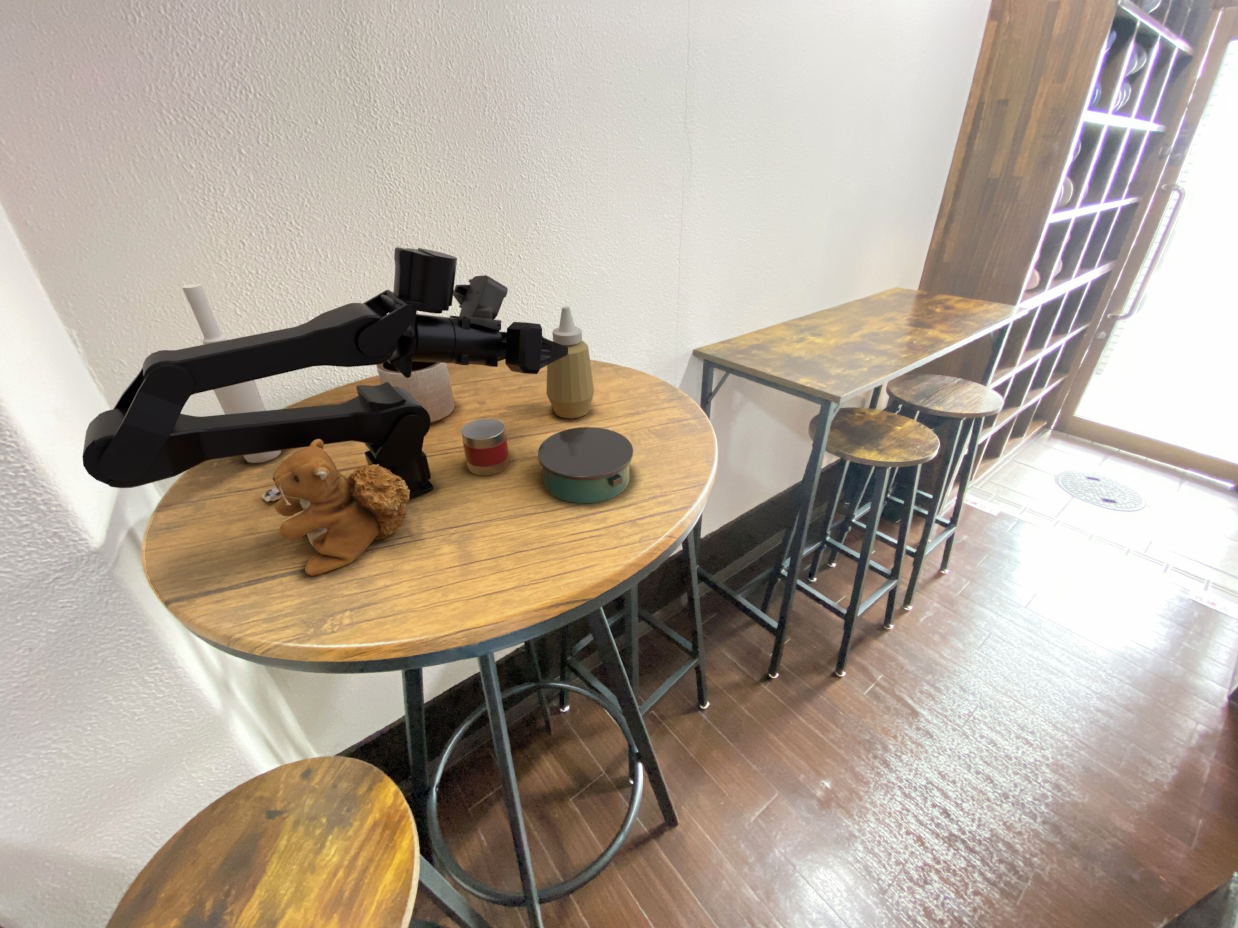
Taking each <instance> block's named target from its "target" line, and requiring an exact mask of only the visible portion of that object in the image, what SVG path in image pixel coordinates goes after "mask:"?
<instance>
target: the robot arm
mask: <svg viewBox="0 0 1238 928" xmlns="http://www.w3.org/2000/svg"><path fill="white" fill-rule="evenodd" d="M393 253H394V255H393V260H394V278H393V279H394V280H393V291H392V290H390V289H385V290H384V291H382V292H380V293H378V294H377V295H374V296H373V297H371V298H370V299H368V300H367V301H364V302H351V303H347V304H344V305H341V306H338V307H336V308H333V309H330V310H327V311H325V312H322V313H320V314H318V315H317V316H315V317H314V318H312V319H310V320H309V321H307V322H304V323H301V324H299V325H296V326H292V327H287V328H281V329H277V330H272V331H267V332H262V333H261V332H260V333H256V334H251V335H247V336H246V335H245V336H241V337H234V338H231V339H228V340H225V341H220V342H215V343H210V344H205V345H203V344H200V345H195V346H190V347H185V348H180V349H163V350H157V351H154V352H151V353H150V354H149V355H148V356H147V357H146V358H144V361H143V363H142V367H141V369H140V370H139V372H138V373H137V375H136V376H135V377H134V378H133V380H132V381H131V382H130V384H129V385H128V386H127V387H126V389H125V390H124V391H123V392H122V394H121V395H120V397H119V398H118V400H117V401H116V404H115V405H114V407H113V408H112V409H108V410H105V411H102V412H100V413H99V414H97V415H96V417H94V418H93V419H92V420H91V421H90V422H89V424H88V426H87V428H86V430H85V436H84V443H83V450H82V456H81V457H82V466H83V467H84V469H85V471H86V472H87V474H88V475H89V476H91V477H92V478H93V479H94V480H95V481H98V482H100V483H102V484H105V485H108V486H109V487H110V488H114V489H115V488H117V489H131V488H138V487H141V486H145V485H148V484H149V485H150V484H153V483H156V482H160V481H165V480H167V479H171V478H174V477H176V476H179V475H181V474H182V473H185V472H187V471H189V470H191V469H193V468H195V467H197V466H199V465H201V464H203V463H205V462H209V461H214V460H220V459H227V458H234V457H243V455H251V454H258V453H265V452H273V451H280V450H282V451H286V450H294V449H303V448H305V447H310V444H311V443H312V442H313V441H314V440H316V439H320V440H322V441H323V443H324V446H325V445H331V444H338V443H346V442H358V443H362V444H364V445H365V446H366V447H367V449H368V450H366V451H364V457H365V460H366V464H367V465H368V466H369V465H370V466H371V465H373V464H374V465H377V464H379V466H381V467H383V468H386V469H387V470H390V471H391V472H392V474H395V475H396V476H399V477H401V478H402V480H405V484H406V486H408V489H409V490H410V495H409V497H410V498H409V500H411V499H414V498H415V497H418V496H421V495H423V494H426V493H429V492H432V491H433V490H434V489H435V487H434V484H433V483H432V482H431V481H430V480H431V479H432V474H431V469H430V465H429V462H428V457H427V454H426V453H425V452H424V451H423V446H424V440H425V437H426V436H427V435H428V433H429V431H430V429H431V424H432V423H431V420H430V415H429V414H428V412H427V410H426V409H425V408H424V407H423V406H422V405H421V404H420V403H419V402H418V401H417V400H416V399H415V398H414V397H413V396H412V395H411V394H409V393H408V392H407V391H406V390H404V389H403V388H400V387H394V386H392V385H391V384H390V383H389V382H386V383H383V384H381V383H380V384H377V385H368V384H359V385H358V384H357V385H356V386H355V388H356V392H357V396H355V397H353V398H351V399H350V400H347V401H344V402H341V403H332V404H321V405H311V406H300V407H290V408H280V409H278V408H277V409H268V410H266V411H257V412H246V413H236V414H225V413H224V414H217V415H216V414H215V415H206V416H198V415H197V416H195V415H190V414H185V413H184V414H183V413H182V411H183V409H184V407H185V405H186V403H187V402H188V400H189V398H190V397H191V396H193V395H197V394H201V393H204V392H209V391H214V389H218V388H222V387H227V386H231V385H235V384H240V383H244V382H248V381H252V380H255V381H256V380H260V379H265V378H269V377H274V376H278V375H282V374H286V373H290V372H294V371H301V370H303V369H308V368H312V367H313V368H314V367H323V366H326V367H328V366H329V367H339V368H340V367H342V368H354V367H355V368H356V367H367V366H368V367H369V366H376V365H378V364H382V363H384V362H386V361H388V362H389V363H390V364H391V365H392V366H394V367H396V369H397V370H398V371H399V372H400V373H401V374H402V375H403V376H405V377H406V378H410V377H411V370H412V361H420V362H438V363H446V364H454V365H460V366H469V365H476V366H484V367H485V366H486V367H492V368H498V366H499V362H502V361H504V360H505V361H504V363H505V365H506V367H507V368H508V369H509V370H510V372H515V373H520V374H528V375H538V373H540V370H541V369H543V368H544V367H547V365H548V364H550V363H552V362H554V361H556V360H558V359H560V358H562V357H564V356H567V355H568V347H566V346H564V345H561V344H559V343H556V342H553V340H550V339H548V338H545V337H544V336H543V327H542V325H541V324H540V323H536V322H526V321H524V322H523V321H513V322H511V324H510V325H509V326H508V327H507V328H506V331H502V320H501V319H497V317H498V315H499V312H500V309H501V306H502V304H503V301H504V299H505V298H506V297H507V295H508V291H509V290H508V287H507V286H505V285H504V284H502V283H500V282H499V281H497V280H496V279H493V278H492V277H490V276H489V275H487V274H484V275H475V276H473V278H470V279H468V283H469V284H456V285H455V282H456V273H457V272H456V271H457V265H458V264H457V263H458V257H456V256H455V255H454V256H453V255H451V254H448V253H444V252H440V251H436V250H431V249H428V248H422V247H418V248H411V247H406V248H404V247H399V246H396V247H395V248H394V252H393ZM453 298H454V299H455V300H456V302H457V303H458V304H459V305H458V308H460V311H459V315H449V316H439V315H432V314H443V312H449V309H450V307H452V306H453ZM417 312H422V313H417ZM423 313H428V314H423ZM430 314H431V315H430Z"/></svg>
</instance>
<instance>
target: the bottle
mask: <svg viewBox="0 0 1238 928" xmlns="http://www.w3.org/2000/svg"><path fill="white" fill-rule="evenodd" d="M181 288H182V291H183V294H184V295H185V297H186V300H187V302H188V304H189V305H190V308H191V310H192V313H193V314H194V317H195V319H196V322H197V324H198V326H199V328H200V331H201V333H202V336H203V338H202V340H201V341H202V343H203V344H202V345H205V344H210V343H215V342H220V341H225V340H229V339H228V338H227V336H226V335H224V334H222V331H221V329H220V327H219V324H218V321H217V320H216V317H215V314H214V312H213V310H212V308H211V306H210V303H209V300H208V297H207V294H206V292H205V289H204V287H203V285H202V284H201V283H189V284H185V285H182V286H181ZM213 392H214V395H215V396H216V398H217V400H218V403H219V405H220V407H221V409H222V411H223V413H224V415H225V414H236V413H246V412H257V411H267V410H266V407H265V405H264V402H263V399H262V396H261V394H260V391H259V388H258V386H257V383H256V380H252V381H248V382H244V383H240V384H235V385H231V386H227V387H222V388H218V389H214V390H213ZM282 451H283V450H280V451H273V452H265V453H258V454H251V455H243V456H242V457H243V459H244V460H246V462H247V463H250V464H260V463H265V462H268V461H269V462H270V461H272V460H274V459H276V458H278V457H279V456H280V454H282Z"/></svg>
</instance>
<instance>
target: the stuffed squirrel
mask: <svg viewBox="0 0 1238 928" xmlns="http://www.w3.org/2000/svg"><path fill="white" fill-rule="evenodd" d="M324 447H325V445H324V443H323V441H322V440H320V439H316V440H314V441H313V442H312V443H311V444H310V447H303V448H299V449H298V450H296V451H294V452H293V453H292V454H290V455H289V456H288V457H286V458H285V459H284V460H282V462H280V464H279V465H278V466H277V467H276V468H275V469H274V471H273V473H272V480H273V483H274V485H275V487H277V489H278V490H279V492H280V493H281V496H282V497H280V499H277V500H278V501H276V503H274V509H275V511H276V512H277V513H278V514H279V515H281V516H283V517H290V518H288V519H286V520H284V521H282V523H281V524H280V525H279V528H278V533H279V535H280V537H282V538H283V539H284V540H287V541H294V540H298V539H301V538H302V537H304V536H306V535H307V539H308V542H309V543H310V545H311V546H312V547H313V548H314V550H316V553H314V554H313V555H312V556H311V557H310V558H309V559H308V561H307V563H306V565H305V567H304V571H305V573H306V574H307V575H308V576H311V577H313V576H318V575H322V574H325V573H328V572H330V571H331V572H332V571H333V570H337V569H340V568H342V567H344V566H347V565H349V564H351V563H352V562H354V561H355V560H357V559H358V558H359V557H360V555H361V556H362V554H363V553H364V552H365V550H367V548H368V547H369V546H370V545H371V544H372V542H373V541H374V540H375V541H378V540H382V539H385V538H387V537H389V536H391V535H393V534H395V533H397V532H398V531H399V530H400V528H401V527H402V526H403V525H404V524H405V518H406V514H408V513H407V512H408V511H406V505H407V504H408V503H407V502H409V501H410V499H409V498H410V497H409V495H410V490H409V489H408V486H406V484H405V480H402V478H401V477H399V476H396V475H395V474H392V472H391V471H390V470H387V469H386V468H383V467H381V466H379V464H377V465H374V464H373V465H371V466H370V465H369V466H368V464H366V465H362V466H359V467H357V468H356V469H355V470H353V472H352V473H350V475H349V476H345V475H344V474H342V473H340V472H339V470H338V468H337V466H336V464H335V462H334V460H333V459H332V457H331V456H330V454H329V453H327V451H326V450H325V449H324Z"/></svg>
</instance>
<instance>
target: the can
mask: <svg viewBox="0 0 1238 928" xmlns="http://www.w3.org/2000/svg"><path fill="white" fill-rule="evenodd" d="M460 432H461V433H460V434H461V439H462V446H463V451H464V456H465V460H466V465H467V469H468V471H469V472H470V473H472V474H473V475H477V476H492V475H496V474H499V473H502V472H503V471H504V470H506V469H507V468H508V467H509V465H510V455H509V454H510V452H509V445H508V437H507V432H506V426H505V423H504V422H503V421H501V420H499V419H495V418H479V419H475V420H472V421H469V422H467V423H466V424H465V425H463V427H462V428H461V430H460Z"/></svg>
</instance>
